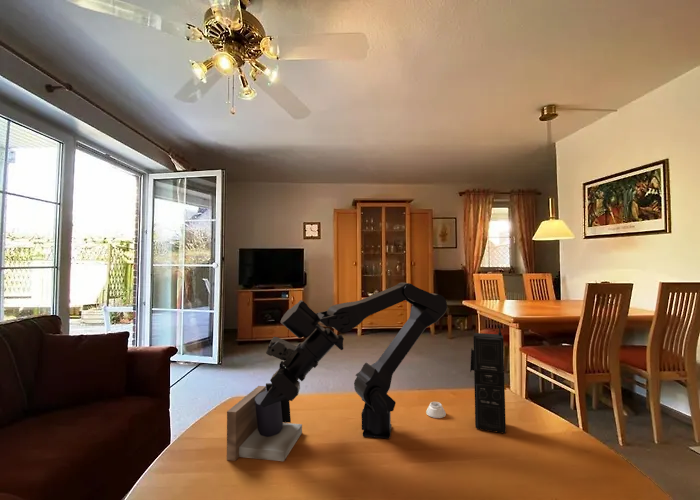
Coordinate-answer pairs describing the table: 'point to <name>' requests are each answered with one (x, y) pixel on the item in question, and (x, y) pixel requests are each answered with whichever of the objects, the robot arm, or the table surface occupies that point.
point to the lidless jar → (436, 410)
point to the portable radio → (489, 381)
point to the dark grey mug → (271, 414)
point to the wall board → (256, 433)
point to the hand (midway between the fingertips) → (264, 399)
